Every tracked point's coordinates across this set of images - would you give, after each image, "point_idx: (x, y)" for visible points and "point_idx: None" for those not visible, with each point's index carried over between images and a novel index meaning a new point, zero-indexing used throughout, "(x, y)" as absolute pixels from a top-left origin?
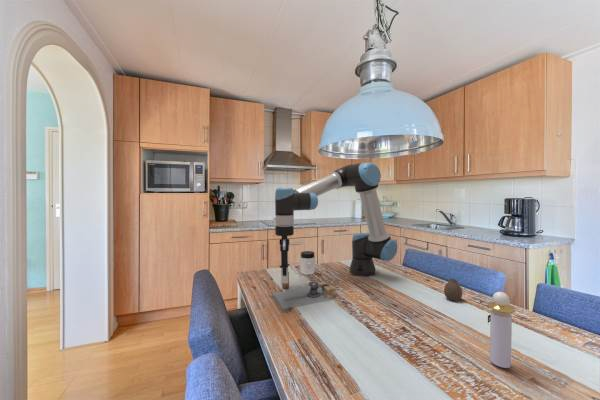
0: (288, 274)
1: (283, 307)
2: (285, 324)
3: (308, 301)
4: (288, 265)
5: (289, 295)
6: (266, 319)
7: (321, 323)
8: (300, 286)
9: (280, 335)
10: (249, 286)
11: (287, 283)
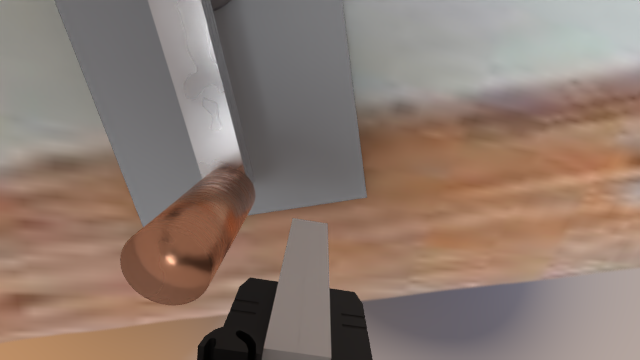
0: (198, 226)
1: (355, 195)
2: (487, 197)
3: (304, 26)
4: (256, 354)
5: (188, 137)
6: (413, 267)
7: (555, 11)
8: (197, 64)
9: (567, 227)
10: (7, 322)
11: (239, 200)
